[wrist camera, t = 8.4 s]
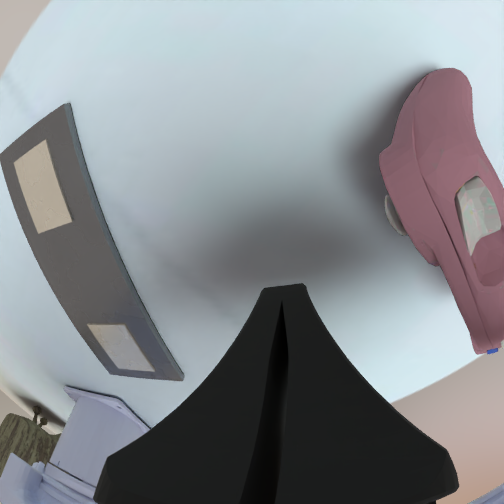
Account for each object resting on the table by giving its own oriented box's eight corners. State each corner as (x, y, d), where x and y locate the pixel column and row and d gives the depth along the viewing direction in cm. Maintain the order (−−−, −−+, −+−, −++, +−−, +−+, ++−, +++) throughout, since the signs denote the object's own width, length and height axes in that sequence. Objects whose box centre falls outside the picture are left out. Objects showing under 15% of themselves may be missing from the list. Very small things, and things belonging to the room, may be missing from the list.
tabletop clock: (47, 421, 34) (12, 509, 12) (15, 393, 30) (-27, 484, 8) (84, 434, 30) (46, 544, 9) (45, 402, 26) (-4, 521, 5)
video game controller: (358, 112, 9) (333, 232, 5) (442, 51, 6) (543, 111, 1) (461, 262, 12) (465, 386, 8) (527, 232, 8) (556, 359, 4)
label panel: (184, 376, 15) (182, 382, 15) (112, 370, 16) (109, 375, 16) (70, 103, 8) (62, 104, 8) (3, 153, 9) (-3, 156, 9)
